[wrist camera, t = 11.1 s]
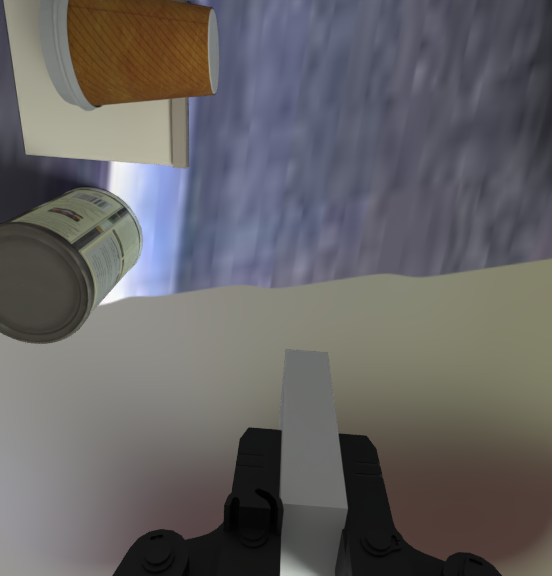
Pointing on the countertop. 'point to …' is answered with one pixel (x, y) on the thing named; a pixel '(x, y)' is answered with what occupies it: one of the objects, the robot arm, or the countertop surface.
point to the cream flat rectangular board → (88, 124)
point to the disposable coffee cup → (128, 50)
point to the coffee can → (63, 262)
